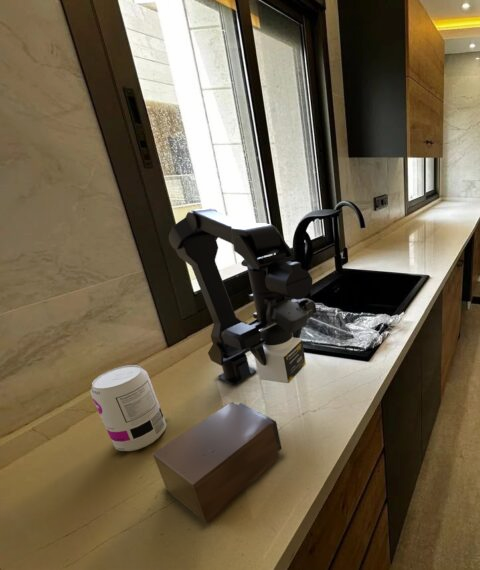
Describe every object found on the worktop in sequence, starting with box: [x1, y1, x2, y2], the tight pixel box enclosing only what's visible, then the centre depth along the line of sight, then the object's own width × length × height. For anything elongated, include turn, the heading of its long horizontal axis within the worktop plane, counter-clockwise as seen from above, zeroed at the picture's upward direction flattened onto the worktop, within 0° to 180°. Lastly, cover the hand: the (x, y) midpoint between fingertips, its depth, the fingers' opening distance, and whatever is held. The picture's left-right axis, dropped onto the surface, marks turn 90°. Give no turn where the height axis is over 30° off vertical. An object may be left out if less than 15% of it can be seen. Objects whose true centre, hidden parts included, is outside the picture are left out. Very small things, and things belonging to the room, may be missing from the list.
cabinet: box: [151, 401, 280, 524], centre depth 57 cm, size 14×12×9 cm
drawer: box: [237, 402, 282, 452], centre depth 59 cm, size 14×10×7 cm
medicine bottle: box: [254, 324, 307, 384], centre depth 71 cm, size 7×7×12 cm
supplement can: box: [90, 364, 167, 452], centre depth 64 cm, size 8×8×15 cm
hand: (280, 355), depth 71 cm, fingers closed on medicine bottle, 8 cm apart
